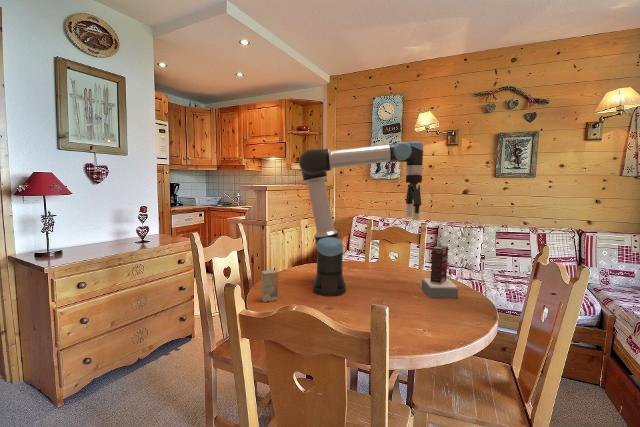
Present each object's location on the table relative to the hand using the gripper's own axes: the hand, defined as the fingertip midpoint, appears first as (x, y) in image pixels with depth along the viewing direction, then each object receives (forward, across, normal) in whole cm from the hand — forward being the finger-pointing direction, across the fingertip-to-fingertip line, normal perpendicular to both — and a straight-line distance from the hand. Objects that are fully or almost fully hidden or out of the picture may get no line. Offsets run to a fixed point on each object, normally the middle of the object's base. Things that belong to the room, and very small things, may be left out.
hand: (412, 218), depth 158 cm
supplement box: (+27, -15, -9) cm, 32 cm away
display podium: (+32, -16, -9) cm, 37 cm away
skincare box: (+32, -28, +65) cm, 78 cm away
